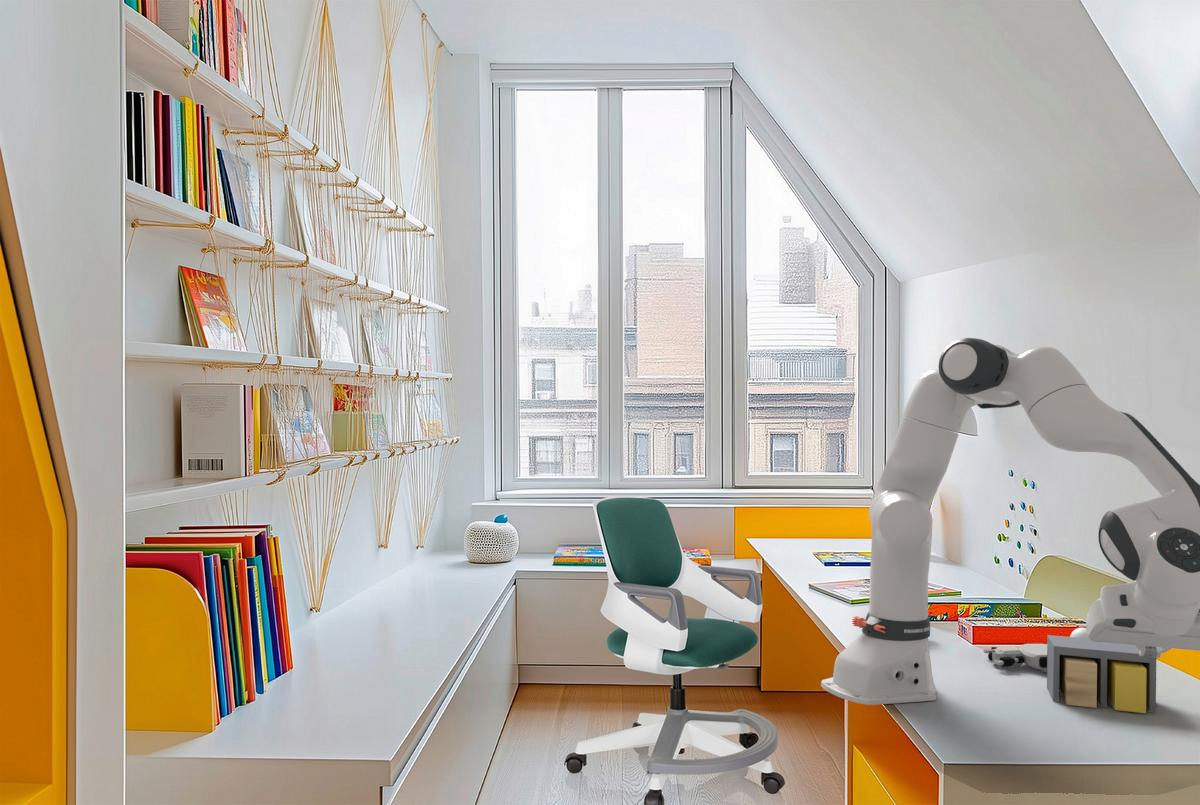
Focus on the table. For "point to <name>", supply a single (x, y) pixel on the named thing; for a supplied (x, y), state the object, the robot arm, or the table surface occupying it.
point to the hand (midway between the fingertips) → (1148, 653)
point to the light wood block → (1078, 680)
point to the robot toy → (1019, 656)
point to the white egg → (1079, 633)
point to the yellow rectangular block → (1126, 685)
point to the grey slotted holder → (1100, 656)
